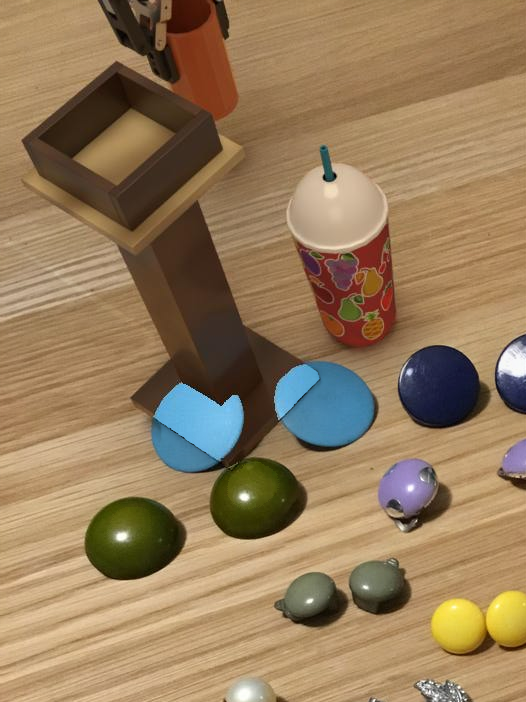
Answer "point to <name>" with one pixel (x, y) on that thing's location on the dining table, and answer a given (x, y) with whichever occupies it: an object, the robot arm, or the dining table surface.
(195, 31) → the cup
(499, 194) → the dining table surface
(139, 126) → the holder
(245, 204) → the dining table surface
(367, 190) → the smoothie
